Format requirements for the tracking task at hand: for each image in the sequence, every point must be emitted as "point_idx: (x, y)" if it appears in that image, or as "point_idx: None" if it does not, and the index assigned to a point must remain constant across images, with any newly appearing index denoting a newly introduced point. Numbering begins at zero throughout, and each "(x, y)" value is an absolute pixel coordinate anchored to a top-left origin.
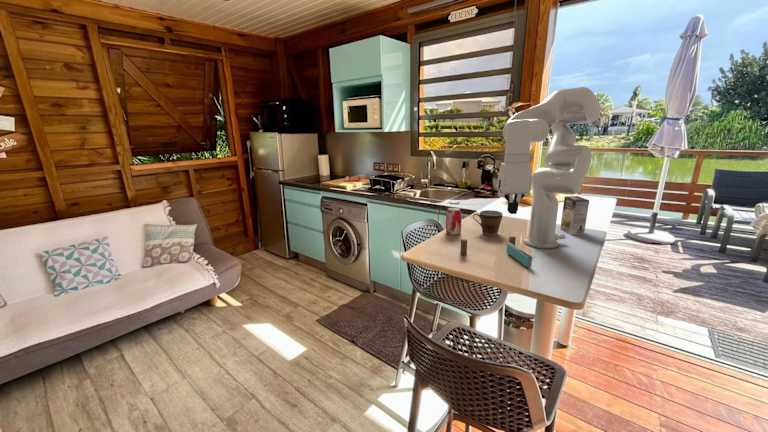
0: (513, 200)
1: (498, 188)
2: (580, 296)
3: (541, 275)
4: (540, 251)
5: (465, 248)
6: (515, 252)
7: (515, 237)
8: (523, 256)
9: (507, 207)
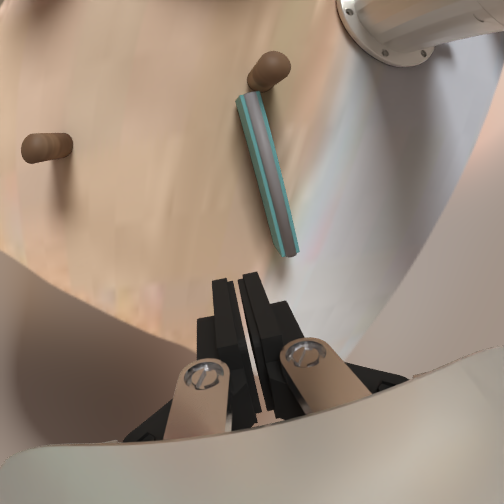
0: (269, 381)
1: (4, 476)
2: None
3: (299, 287)
4: (368, 84)
5: (54, 157)
6: (257, 169)
7: (288, 72)
8: (273, 227)
9: (197, 331)
